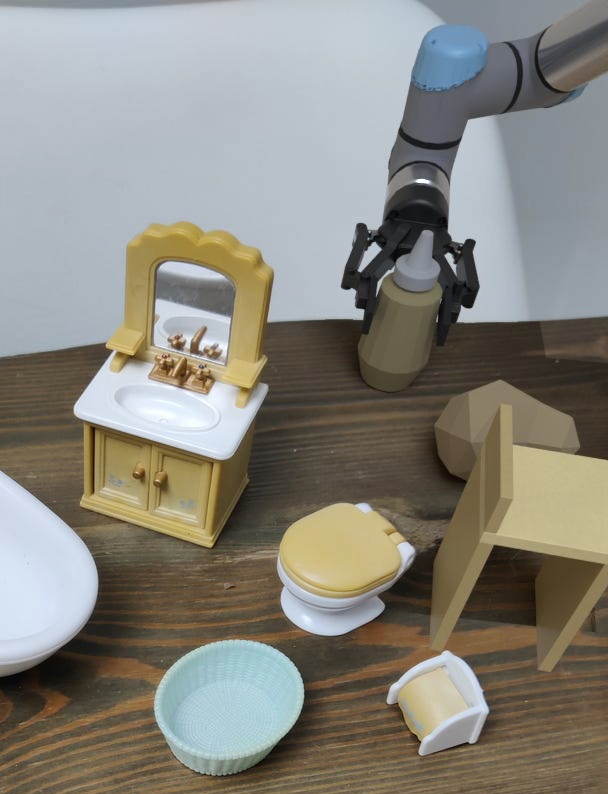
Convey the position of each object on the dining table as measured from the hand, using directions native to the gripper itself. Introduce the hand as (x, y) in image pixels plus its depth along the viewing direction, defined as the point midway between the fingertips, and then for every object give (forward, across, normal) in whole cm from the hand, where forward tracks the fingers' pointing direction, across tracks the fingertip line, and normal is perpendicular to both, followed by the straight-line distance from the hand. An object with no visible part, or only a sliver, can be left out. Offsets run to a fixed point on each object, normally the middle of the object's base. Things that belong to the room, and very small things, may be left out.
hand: (405, 329), depth 103 cm
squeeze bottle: (-5, 0, -10) cm, 11 cm away
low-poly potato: (+8, -12, -10) cm, 18 cm away
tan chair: (+28, -12, -10) cm, 32 cm away
